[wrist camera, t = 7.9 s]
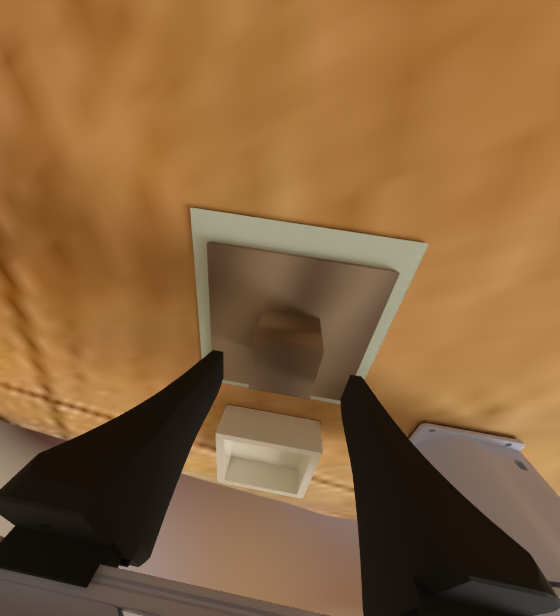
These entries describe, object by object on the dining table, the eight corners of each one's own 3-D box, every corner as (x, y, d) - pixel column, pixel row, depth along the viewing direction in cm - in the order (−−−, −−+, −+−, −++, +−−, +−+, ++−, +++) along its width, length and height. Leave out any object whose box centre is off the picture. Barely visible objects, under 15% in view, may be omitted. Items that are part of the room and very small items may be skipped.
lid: (396, 270, 13) (433, 298, 9) (343, 395, 18) (352, 444, 15) (210, 241, 13) (173, 256, 9) (215, 373, 19) (193, 414, 15)
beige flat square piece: (426, 242, 12) (428, 243, 12) (351, 403, 19) (351, 406, 19) (192, 207, 12) (190, 207, 12) (204, 377, 20) (203, 379, 19)
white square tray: (320, 421, 21) (322, 453, 18) (302, 468, 26) (302, 498, 23) (226, 404, 21) (215, 432, 19) (226, 453, 26) (217, 482, 23)
